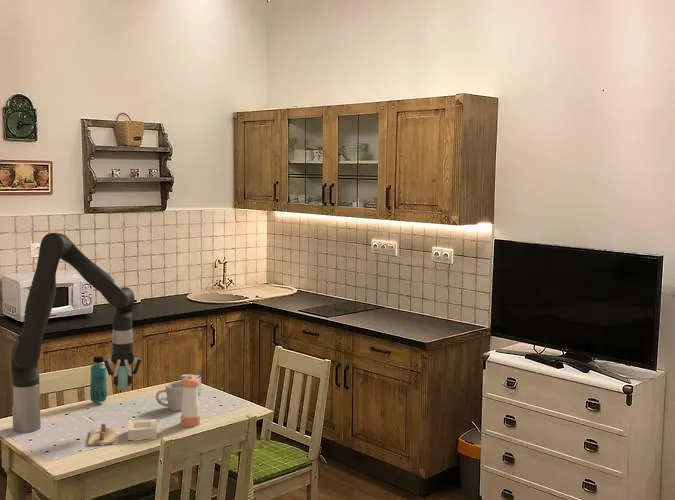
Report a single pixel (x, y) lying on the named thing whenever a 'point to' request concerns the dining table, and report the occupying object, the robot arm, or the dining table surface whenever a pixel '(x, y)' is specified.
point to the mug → (172, 395)
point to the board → (106, 436)
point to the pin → (122, 378)
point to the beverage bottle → (98, 380)
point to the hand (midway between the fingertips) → (122, 385)
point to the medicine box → (196, 377)
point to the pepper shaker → (190, 402)
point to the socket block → (142, 429)
